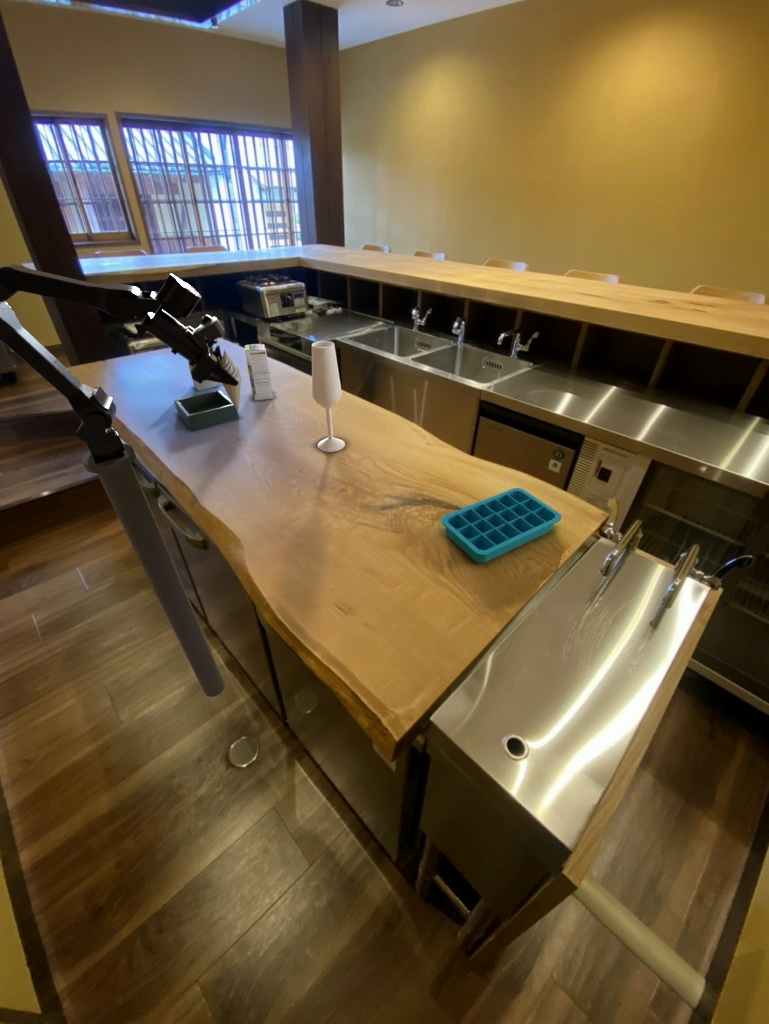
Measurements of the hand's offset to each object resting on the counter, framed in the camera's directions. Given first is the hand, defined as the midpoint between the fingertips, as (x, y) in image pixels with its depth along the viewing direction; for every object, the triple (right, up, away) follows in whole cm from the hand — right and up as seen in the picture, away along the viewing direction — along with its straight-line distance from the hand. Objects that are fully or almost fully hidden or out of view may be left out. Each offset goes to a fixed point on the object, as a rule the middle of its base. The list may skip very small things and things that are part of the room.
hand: (237, 380), depth 102 cm
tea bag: (-21, +8, +32) cm, 39 cm away
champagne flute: (+22, -15, +2) cm, 27 cm away
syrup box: (-1, +3, +26) cm, 26 cm away
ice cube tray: (+57, -35, -23) cm, 71 cm away
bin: (-13, -5, +15) cm, 21 cm away
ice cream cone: (-1, -6, +4) cm, 8 cm away
